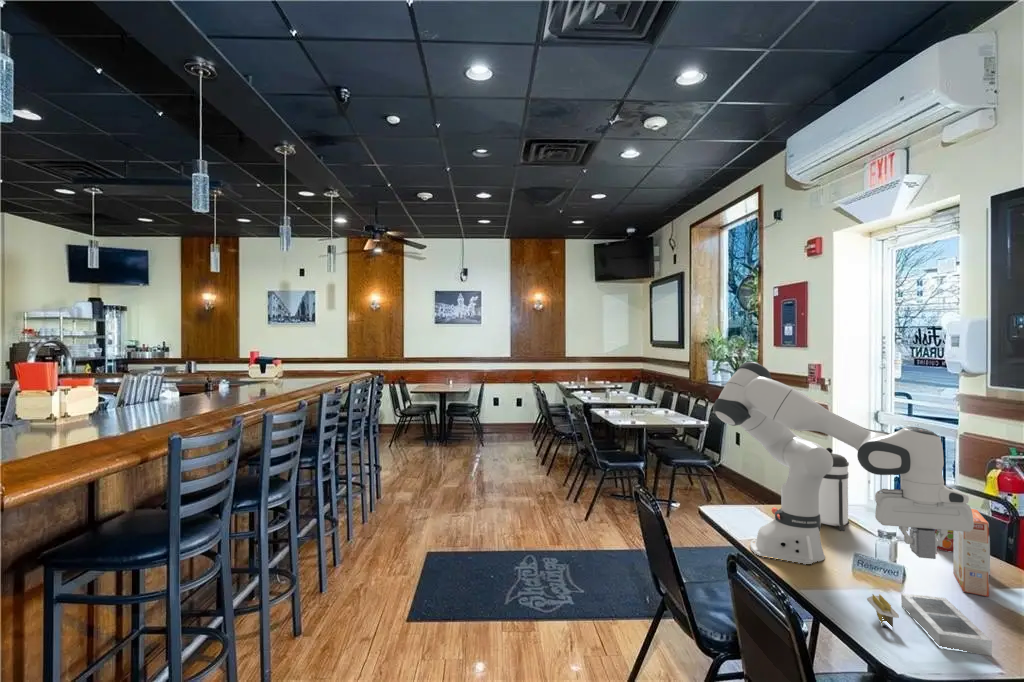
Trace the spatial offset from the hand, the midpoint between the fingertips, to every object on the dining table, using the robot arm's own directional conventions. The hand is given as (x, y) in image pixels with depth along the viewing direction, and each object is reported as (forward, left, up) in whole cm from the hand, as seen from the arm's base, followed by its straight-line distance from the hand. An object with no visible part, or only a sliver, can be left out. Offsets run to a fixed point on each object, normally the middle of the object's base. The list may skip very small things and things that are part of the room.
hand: (923, 544), depth 133 cm
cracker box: (+22, +25, -20) cm, 39 cm away
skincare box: (+29, +37, -20) cm, 51 cm away
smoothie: (+28, +54, -20) cm, 64 cm away
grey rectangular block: (0, 0, -3) cm, 3 cm away
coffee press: (-2, +71, -20) cm, 74 cm away
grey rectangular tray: (+2, -4, -19) cm, 20 cm away
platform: (-11, -5, -20) cm, 23 cm away
